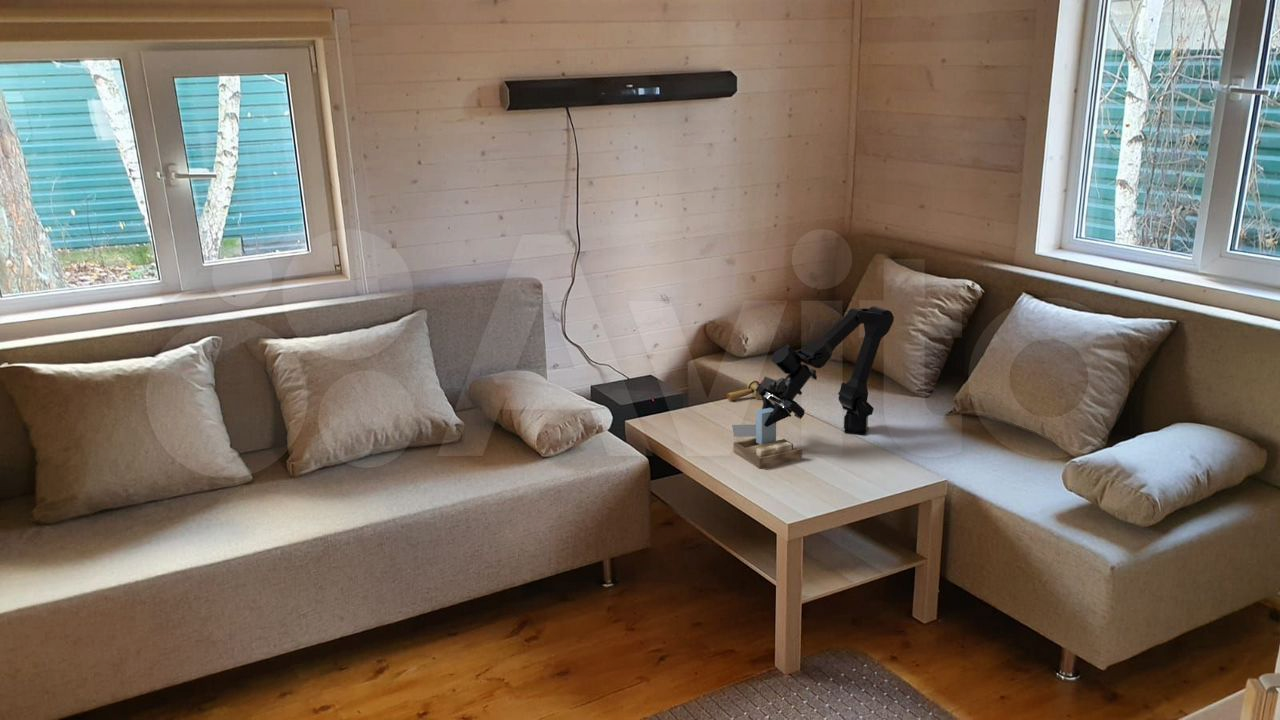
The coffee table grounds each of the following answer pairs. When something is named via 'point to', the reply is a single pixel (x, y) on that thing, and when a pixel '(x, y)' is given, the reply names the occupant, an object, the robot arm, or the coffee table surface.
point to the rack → (748, 453)
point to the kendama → (745, 391)
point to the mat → (744, 430)
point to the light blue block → (764, 427)
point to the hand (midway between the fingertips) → (762, 424)
